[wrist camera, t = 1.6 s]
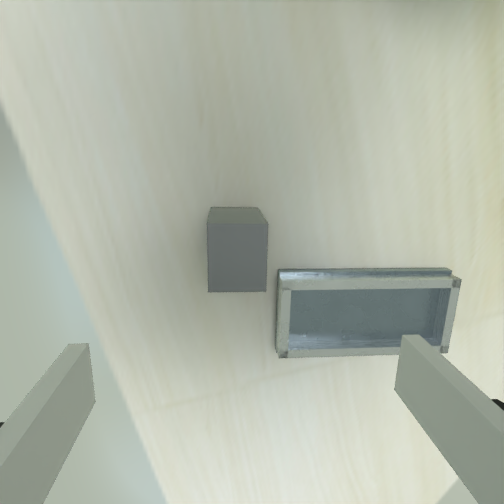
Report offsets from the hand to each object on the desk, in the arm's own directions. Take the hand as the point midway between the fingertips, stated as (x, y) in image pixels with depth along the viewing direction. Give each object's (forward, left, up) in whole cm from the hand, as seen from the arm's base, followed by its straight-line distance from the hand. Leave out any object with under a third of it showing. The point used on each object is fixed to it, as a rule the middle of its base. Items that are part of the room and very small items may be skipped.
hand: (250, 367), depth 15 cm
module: (0, 0, -24) cm, 24 cm away
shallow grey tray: (+9, +15, -24) cm, 30 cm away
